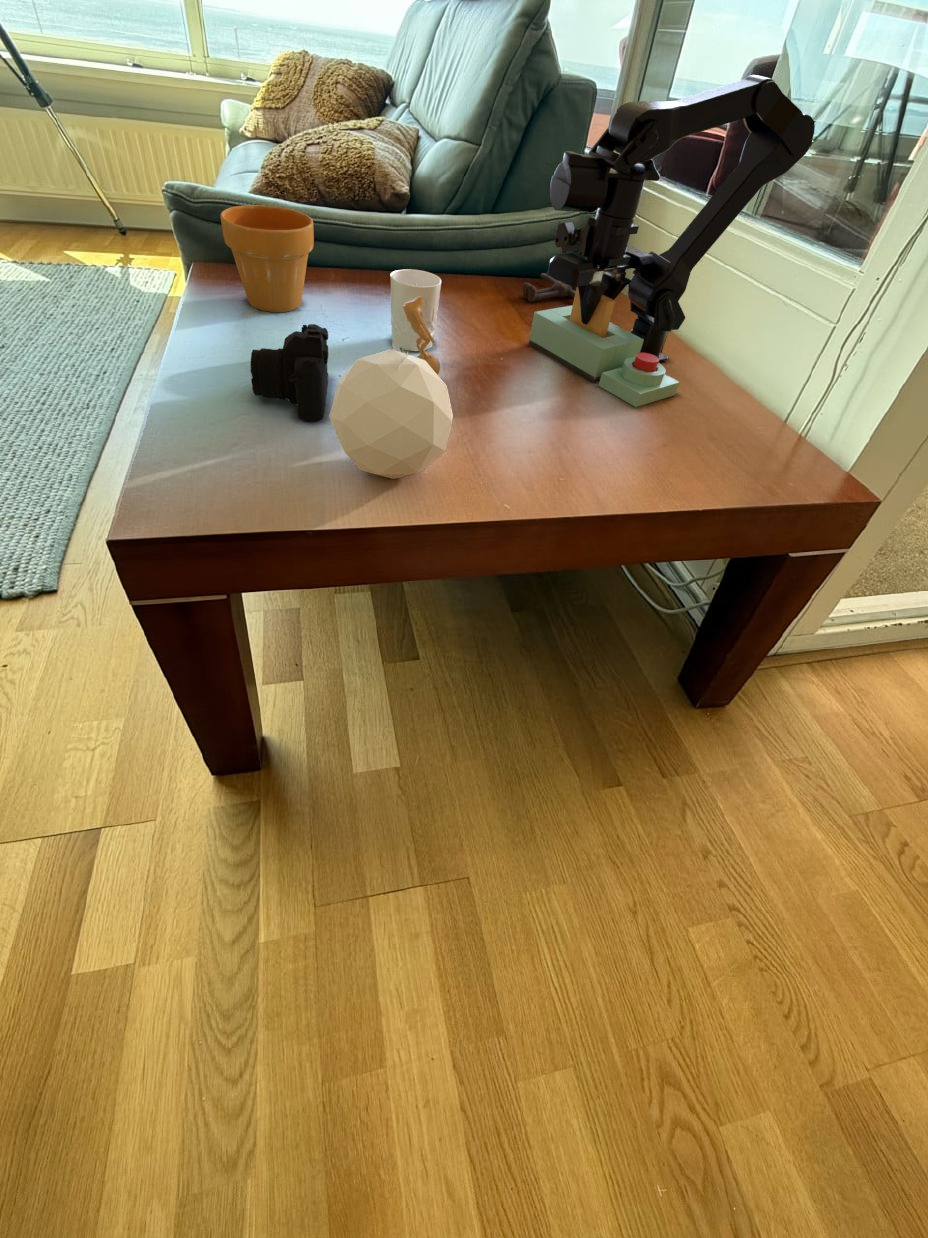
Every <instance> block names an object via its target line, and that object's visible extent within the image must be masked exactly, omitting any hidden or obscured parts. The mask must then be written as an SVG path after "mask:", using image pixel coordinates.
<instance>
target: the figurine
mask: <svg viewBox="0 0 928 1238" xmlns="http://www.w3.org/2000/svg"><path fill="white" fill-rule="evenodd" d="M423 304H424V302H423V298H422V297H421V296H419V297H418V298H416V299H415V300H413V301H410V302H407V303H406V304H405V305H404V306H403V309H404V312H405V314H406V316H407V320H409V321H410V323H411V326H412V328H413V330H414V332H416V333H417V334H418V335H419V336H420V338H418V339H417V341H416V343H417V348H418V350H419V351H418V352H419V354H418V355H417V356H416V357H417V358H420V359H423V360H425V361H426V362H427V363H428V364H429V365H430V367H431V368H432V369H433V370H434V371H435V373H436V374H437V375H438V376H439V374H440V370H441V364H440V361H439V359H438V358H437V356H435V355H434V354H432V353H429V352H427V350H424V348H426V346H427V345H428V344H429V342H430V340H431V342H432V344H433V346H435V344H436V342H435V337H434V338H433V337H432V336H431V334H430V332H429V330H428V329H427V328H426V325H425V323H424V322H423V319H422V310H421V307H422V305H423ZM409 321H408V322H409ZM421 325H422V327H423V328H422V327H421ZM423 329H424V330H425V331H424V330H423ZM422 340H424V341H425V343H423V344H422V345H421V347H420V345H419V344H420V343H421V342H422Z"/></svg>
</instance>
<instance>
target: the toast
mask: <svg viewBox="0 0 928 1238" xmlns="http://www.w3.org/2000/svg"><path fill="white" fill-rule="evenodd" d="M615 304H616V299H614V300H613V299H611V298H609V297H607V296H605V295H602V297H601V299H600V301H599V303H598V305H597V307H596V309H595V311H594V313H593V315H592V317H591V319H590V321H589V323H588V324H586V325H585V324H583V323H582V321H581V308H580V297H579V291H578V287H577V289H576V293H575V298H574V297H573V303H572V305H573V306H572V305H571V306H572V311H571V315H570V321H571V322H573V323H575V324H577V325H579V326H581V327H583V328H585V329H587V330H589V331H590V332H592V333H594V334H596V335H598V336H600V337H602V338H605V337H606V334H607V330H608V326H609V323H611V318H612V315H613V311H614V307H615Z"/></svg>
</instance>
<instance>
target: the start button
mask: <svg viewBox="0 0 928 1238" xmlns="http://www.w3.org/2000/svg"><path fill="white" fill-rule="evenodd" d="M658 363H660V362H659V358H658V357H656V356H655V355H652V354H649V353H638V354H637V355H636V357H635V361H634V364H633V367H635V368H636V369H638V370H641V371H645V372H655V371H656V368H657V365H658Z"/></svg>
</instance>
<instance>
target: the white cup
mask: <svg viewBox="0 0 928 1238" xmlns="http://www.w3.org/2000/svg"><path fill="white" fill-rule="evenodd" d="M389 277H390V323H391V324H390V325H391V343H393V344H394V343H396V345H397V343H398V344H399V347H400V349H402V345H403V349H404V350H405V349H406V351H411V352H420V351H419V350H418V348H417V343H416V341H417V339H418V338H420V336H419V335H418V334H417V333H416V332H414V330H413V328H412V326H411V323H410V321H409V320H407V316H406V314H405V312H404V309H403V306H404V305H405V304H406V303H407V302H410V301H413V300H415V299H416V298H418V297H419V296H421V297H422V298H423V302H424V304H423V305H422V307H421V310H422V319H423V322H424V323H425V325H426V328H427V329H428V330H429V332H430V334H431V336H432V337H433V338H434V339H435V337H434V336H435V330H436V325H437V318H438V312H439V305H440V298H441V297H440V296H441V289H442V281H443V280H442V278H441V277H440V276H438V275H436V274H434V273H432V272H429V271H425V270H420V269H411V268H409V269H408V268H407V269H404V268H403V269H398V270H394V271H392V272H391V273H390V275H389ZM408 321H409V322H408ZM421 327H422V325H421ZM422 328H423V327H422ZM423 330H424V329H423ZM424 331H425V330H424ZM423 343H425V341H424V340H422V342H421V343H420V344H419V345H420V347H421V345H422V344H423ZM432 346H434V344H432V342H431V340H430V342H429V344H428V345H427V346H426V348H424V351H427V350H430V349H431V348H432Z"/></svg>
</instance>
